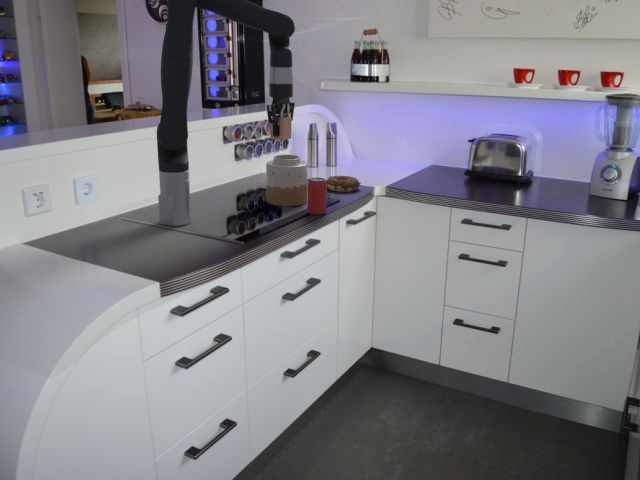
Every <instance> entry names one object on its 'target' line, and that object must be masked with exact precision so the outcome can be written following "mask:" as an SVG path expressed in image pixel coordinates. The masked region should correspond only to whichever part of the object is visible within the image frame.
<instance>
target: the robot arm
mask: <svg viewBox="0 0 640 480" xmlns="http://www.w3.org/2000/svg"><path fill="white" fill-rule="evenodd" d="M197 8H198V9H201V10H204V11H207V12H209V13H214V14H216V15H218V16H219V17H223V18H226V19H227V20H230V21H232V22H235V23H237V24H239V25H242V26H245V27H247V28H249V29H254V30H256V31H257V30H258V31H262V32H264V33H267V34H268V44H269V50H270V51H269V52H270V57H269V74H268V75H269V76H268V77H269V78H268V79H269V80H268V84H269V85H268V90H269V91H268V95H269V97H270V98H272V100H271V104H267V105H266V114H267V120H268V123H269V124H270V123H271V124H272V125H273V136H274V137H279V136H280V118H282V117H283V116H288V117H289V116H290V117H292V119H291V122H292V121H293V120H294V113H295V112H294V111H295V104H296V103H295V101H294V102H292V101H290V98H293V96H294V72H293V50H292V49H291V45H290V38H291V37H293V35H294V34H295V31H296V24H295V21H294V20H293V18H292V17H290V16H289V15H288V14H284V13H281V12H278V11H277V10H273V9H270V8H269V9H267V8H266V7H263V6H261V5H259V4H258V3H254V2H252V1H249V0H167V20H166V27H165V31H164V37H163V41H162V46H161V55H160V56H161V58H160V86H161V88H160V89H161V97H162V99H161V100H162V101H161V102H162V103H161V105H162V106H161V114H160V121H159V123H158V125H157V126H156V143H157V144H156V146H157V161H158V164H157V165H158V171H159V172H158V174H159V176H158V177H159V191H160V192H159V194H158V196H157V199H158V213H159V214H158V217H159V224H160V225H165V226H170V227H174V226H175V227H178V226H186V225H188V224H190V223H191V222H192V217H191V215H192V212H191V211H192V210H191V190H190V185H191V184H190V165H189V164H190V162H189V152H188V150H189V149H188V139H189V131H188V126H189V125H188V103H189V97H190V93H191V91H190V90H191V87H192V86H191V85H192V78H193V77H192V75H193V66H194V43H195V42H194V39H195V38H194V21H195V13H196V9H197ZM271 117H272V119H271ZM276 117H277V118H278V119H277V118H276Z"/></svg>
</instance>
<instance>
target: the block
mask: <svg viewBox="0 0 640 480" xmlns="http://www.w3.org/2000/svg"><path fill="white" fill-rule="evenodd" d="M276 118H277V117H276ZM271 119H272V116H271ZM277 119H278V118H277ZM291 119H292V117H290V116H289V117H288V116H283V117H282V118H280V136H279V137H274V136H273V125H272V124H271V123H269V125H270V127H269V136H270V137H269V139H270V140H278V141H285V140H289V139H292V121H291Z"/></svg>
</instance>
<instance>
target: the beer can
mask: <svg viewBox="0 0 640 480" xmlns="http://www.w3.org/2000/svg"><path fill="white" fill-rule="evenodd" d="M326 180H327V179H326V178H323V177H311V178H310V179H309V182H308V183H307V212H308V214H310V215H314V216H322V215H324V214H326V213H327V201H328V199H327V198H328V188H327V183H326Z"/></svg>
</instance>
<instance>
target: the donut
mask: <svg viewBox="0 0 640 480" xmlns="http://www.w3.org/2000/svg"><path fill="white" fill-rule="evenodd" d="M326 183H327V190H330V191H334V192H339V193H346V192H347V193H349V192H354V191H356V190H357V189H359V187H360V186H361V182H359V180H358V179H357V178H356V177H354V176H350V175H349V176H348V175H334V176H333V175H331V176H329V177H327V179H326Z"/></svg>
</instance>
